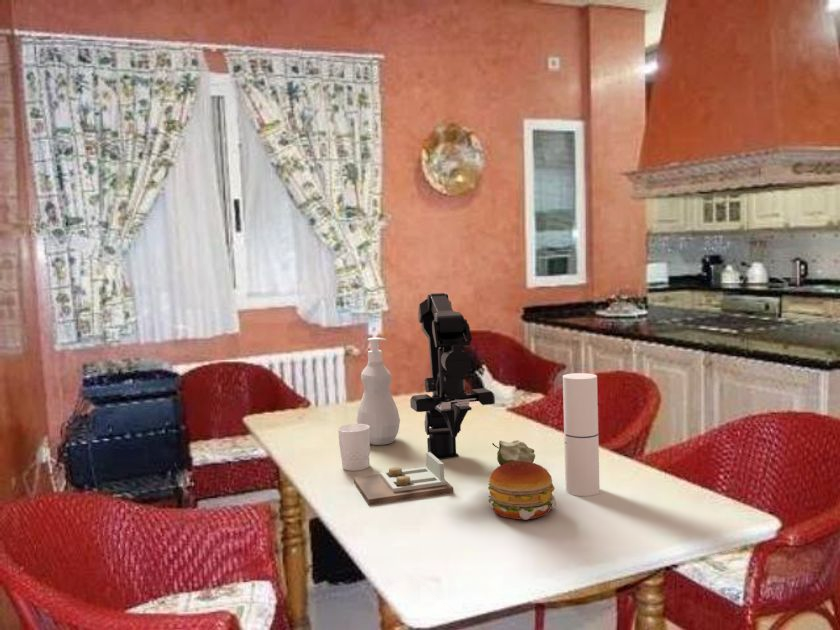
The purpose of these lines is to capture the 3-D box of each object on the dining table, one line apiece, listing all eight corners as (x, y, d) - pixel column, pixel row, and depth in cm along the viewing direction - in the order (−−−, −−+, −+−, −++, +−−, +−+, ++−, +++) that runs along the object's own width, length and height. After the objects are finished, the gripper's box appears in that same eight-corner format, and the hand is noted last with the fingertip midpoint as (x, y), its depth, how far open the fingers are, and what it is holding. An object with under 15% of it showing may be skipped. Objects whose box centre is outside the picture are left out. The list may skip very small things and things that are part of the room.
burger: (486, 501, 150) (484, 454, 149) (551, 499, 149) (549, 452, 149) (490, 525, 137) (488, 474, 136) (561, 523, 136) (560, 472, 135)
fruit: (490, 476, 170) (486, 442, 171) (512, 469, 177) (508, 437, 178) (522, 475, 164) (517, 440, 165) (544, 468, 171) (539, 435, 172)
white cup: (366, 472, 173) (364, 431, 172) (335, 471, 175) (333, 431, 174) (375, 462, 181) (373, 423, 180) (345, 461, 183) (343, 423, 182)
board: (431, 472, 171) (430, 458, 171) (453, 492, 156) (452, 477, 155) (353, 482, 166) (352, 468, 165) (368, 505, 150) (367, 489, 150)
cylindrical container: (580, 498, 149) (577, 380, 147) (558, 489, 155) (555, 375, 153) (606, 491, 152) (604, 376, 150) (584, 483, 158) (581, 371, 156)
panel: (429, 469, 169) (428, 451, 168) (445, 484, 157) (445, 464, 157) (380, 476, 165) (379, 457, 165) (393, 492, 154) (392, 471, 153)
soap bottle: (409, 445, 195) (404, 339, 193) (369, 451, 191) (363, 343, 189) (388, 432, 211) (383, 333, 208) (351, 437, 207) (345, 337, 204)
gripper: (476, 361, 172) (479, 424, 174) (402, 368, 167) (405, 433, 169) (494, 368, 162) (496, 435, 163) (415, 375, 157) (418, 444, 158)
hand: (454, 436), depth 164 cm, fingers closed
